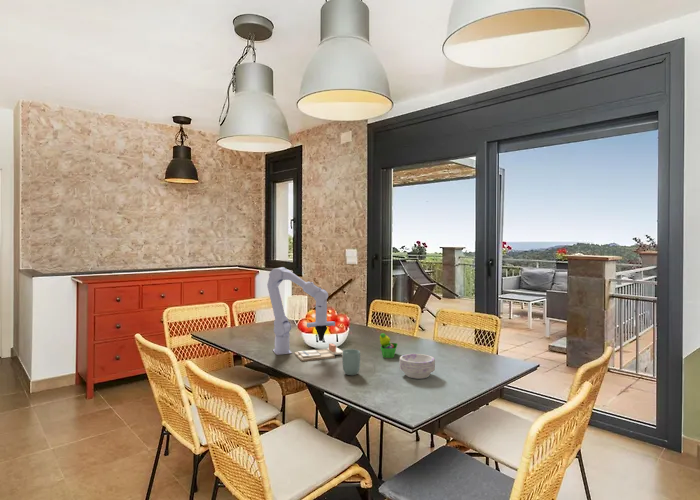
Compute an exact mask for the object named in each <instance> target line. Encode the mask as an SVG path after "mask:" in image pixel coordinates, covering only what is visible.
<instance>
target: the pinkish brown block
mask: <svg viewBox="0 0 700 500" xmlns="http://www.w3.org/2000/svg"><path fill="white" fill-rule="evenodd" d="M326 350H328V351H329V352H330V353H332V354H333V355H334V356H335V355H342V354H343V351H344V350H342V349H341V348H338V347H337V346H336V344H334V343H329V344H328V347H327V348H326Z"/></svg>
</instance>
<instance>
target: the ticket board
mask: <svg viewBox="0 0 700 500" xmlns="http://www.w3.org/2000/svg"><path fill="white" fill-rule="evenodd" d="M293 354H294V356H296V357H297V359H298V360H300V361H301V362H309V361H317V360H318V361H319V360H327V359H336V356H335V355H333V354H332V353H331V352H329V351H328V350H327V348H323V349H309V350H300V351H299V350H298V351H294V353H293Z"/></svg>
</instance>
